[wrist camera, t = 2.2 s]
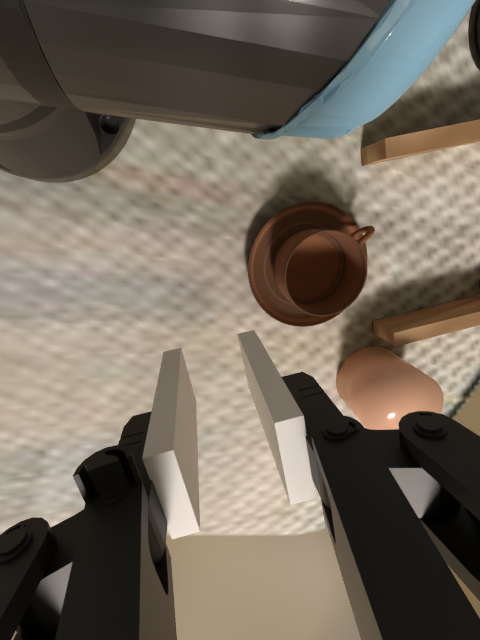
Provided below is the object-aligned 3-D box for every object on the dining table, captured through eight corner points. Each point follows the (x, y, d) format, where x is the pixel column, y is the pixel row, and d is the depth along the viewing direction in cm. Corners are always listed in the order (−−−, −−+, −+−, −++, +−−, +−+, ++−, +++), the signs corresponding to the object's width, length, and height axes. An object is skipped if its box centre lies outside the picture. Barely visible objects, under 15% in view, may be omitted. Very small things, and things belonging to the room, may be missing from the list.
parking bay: (360, 148, 30) (385, 138, 26) (500, 120, 31) (543, 106, 27) (373, 333, 36) (394, 346, 32) (490, 304, 37) (524, 313, 34)
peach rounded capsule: (332, 355, 36) (364, 385, 30) (398, 338, 37) (443, 364, 30) (339, 414, 39) (370, 454, 32) (400, 397, 39) (443, 433, 33)
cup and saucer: (288, 176, 30) (312, 166, 24) (379, 245, 33) (419, 251, 28) (222, 285, 32) (229, 299, 26) (314, 339, 36) (338, 363, 30)
